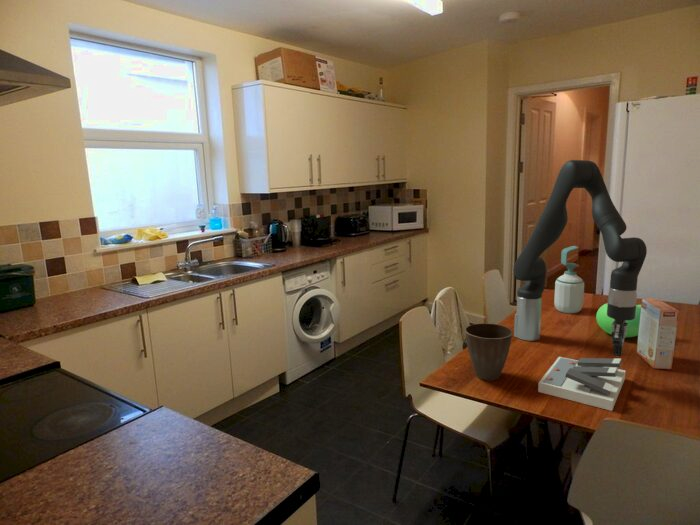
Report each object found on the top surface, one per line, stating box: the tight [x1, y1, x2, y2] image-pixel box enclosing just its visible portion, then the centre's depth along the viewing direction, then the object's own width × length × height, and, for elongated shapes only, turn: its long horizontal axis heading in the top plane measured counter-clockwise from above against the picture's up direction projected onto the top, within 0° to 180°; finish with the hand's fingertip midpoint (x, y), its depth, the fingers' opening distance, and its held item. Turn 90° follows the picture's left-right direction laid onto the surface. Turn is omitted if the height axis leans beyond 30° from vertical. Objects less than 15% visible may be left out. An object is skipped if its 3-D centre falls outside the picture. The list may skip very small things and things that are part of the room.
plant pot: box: [464, 322, 514, 381], centre depth 149 cm, size 15×15×16 cm
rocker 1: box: [577, 357, 623, 368], centre depth 145 cm, size 12×4×1 cm, turn 51°
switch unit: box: [537, 356, 626, 412], centre depth 141 cm, size 20×24×4 cm
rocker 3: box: [565, 368, 613, 395], centre depth 132 cm, size 12×4×1 cm, turn 52°
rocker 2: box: [573, 366, 619, 377], centre depth 139 cm, size 12×4×1 cm, turn 51°
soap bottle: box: [553, 245, 585, 314], centre depth 212 cm, size 12×12×31 cm
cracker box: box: [636, 298, 680, 370], centre depth 155 cm, size 14×6×21 cm, turn 168°
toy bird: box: [595, 302, 642, 338], centre depth 180 cm, size 18×17×15 cm
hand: (617, 355), depth 141 cm, fingers closed
